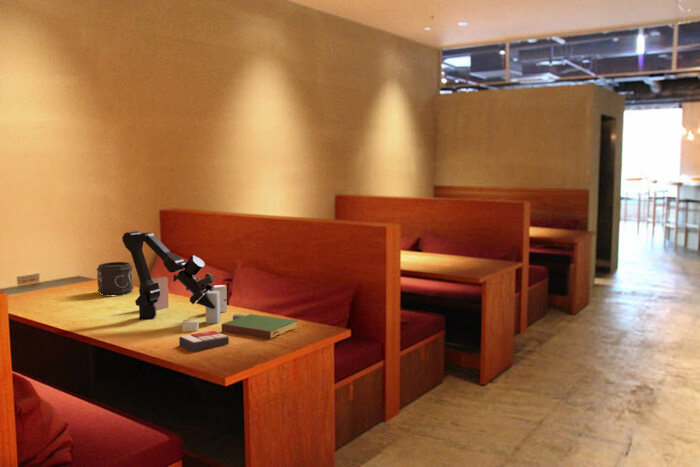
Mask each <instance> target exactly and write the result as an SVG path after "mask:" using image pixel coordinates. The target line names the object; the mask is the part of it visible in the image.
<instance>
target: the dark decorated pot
mask: <svg viewBox="0 0 700 467" xmlns="http://www.w3.org/2000/svg"><path fill="white" fill-rule="evenodd" d="M133 268H134V267H133V265H132V264H131V263H130V262H128V261H127V262H125V261H114V262H113V261H112V262H110V261H109V262H105V263H101V264H99V265H98V267H97V268H96V271H97V274H96V275H97V276H96V277H97V278H96V280H97V288H98V289H97V292H98V293H99V294H100V293H101V294H103V295H121V296H124V295H123V294H126V295H128V294H127V293H129V294H131V293H132V292H133V290H134V287H135V286H133V285H134V277H133V276H134V275H133V274H134V273H133ZM130 292H131V293H130ZM103 295H102V296H103Z"/></svg>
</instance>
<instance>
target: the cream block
mask: <svg viewBox="0 0 700 467" xmlns="http://www.w3.org/2000/svg"><path fill="white" fill-rule="evenodd" d="M199 321H200V320H199V319H198V318H197V319H196V318H195V319H183V320H182V321H181V326H182V328H181V329H182V330H181V331H182V332H198V331H199V329H200V325H199V323H200V322H199Z"/></svg>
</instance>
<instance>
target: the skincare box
mask: <svg viewBox="0 0 700 467" xmlns="http://www.w3.org/2000/svg"><path fill="white" fill-rule="evenodd" d="M213 291H220V313H226V312H228V308H227V307H228V305H227V304H228V301H227V298H228V297H227V296H228V295H227V293H228V292H227V285H225V284H219V285H218V284H217V285H216V284H215V285H214V287H213Z"/></svg>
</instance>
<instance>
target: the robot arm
mask: <svg viewBox="0 0 700 467" xmlns="http://www.w3.org/2000/svg"><path fill="white" fill-rule="evenodd" d="M121 240H122V242H123V245H124V247H125V249H126V250H127V251H128V252H130V254H131V258H132V261H133V264H134V267H135V270H136V273H137V277H138V280H139V289H138V291H139V296H138V297H137V298H136V299H135V301H134V303H135V306H137V307H138V312H139V313H138V315H139V317H138V320H152V319H155V317H156V316H157V310H156V306H155V303H156V302H157V301H158V298H159V296H160V291H161V290H160V289H159V285H158V283H154V282H153V281H152V279H151V278H152V277H151V276H152V275H151V273H150V271H149V270H150V269H149V266H148V264H147V261H146V257H145V254H144V251H143V248H144V243H145V244H146V245H147V246H148V247H149V248H150V249H151V250H152V251H153V252H154V254H156V255H157V256H158V257H159V258H160V259H161V260H162V263H163V266H164V268H165V269H166V270H167V271H168V272H169V273H175V274H174V275H172V278H173V282H174V283H175V282H177V281H179V282H180V283H181V284H182V285H183V286H184V287H185V290H186V291H189V292H190V293H192V295H191V296H190V297H189V302H190V303H191V305H194V304H196V305H200V306H204V307H205V308H206V307H209V308H212V309H214V308H215V306H214V305H213V304H212V302H211V301H210V300H209V299H208V296H207V293H206V292H208V291H213V287H214V286H215V285H214V284H213V283H214V282H215V281H216V280H215V276H214V275H213V274H211V273H210V272H208V273H206V274H205V275H204V277H203V278H200V277H196V276H197V275H198V274H199V272H200V271H201V270H202V269H203V268H204V267H205V265H206V264H205V261H204V260H203V259H201V258H200V257H198V256H196V255H194V254H193V255H191V256H190V257H189V259H188V260H184V258H182V257H181V256H180V255H178V254H176V253H173V252H172V251H170V249H168V247H166V246H165V245H164V243H163V242H161V240H159V239H158V237H156V235H155V233H154V232H152V231H148V232H140V231H139V230H133V231H127V232H125V233H124V234H123V235H122V237H121ZM177 272H178V273H177ZM176 273H177V274H176ZM205 293H206V294H205Z"/></svg>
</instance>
